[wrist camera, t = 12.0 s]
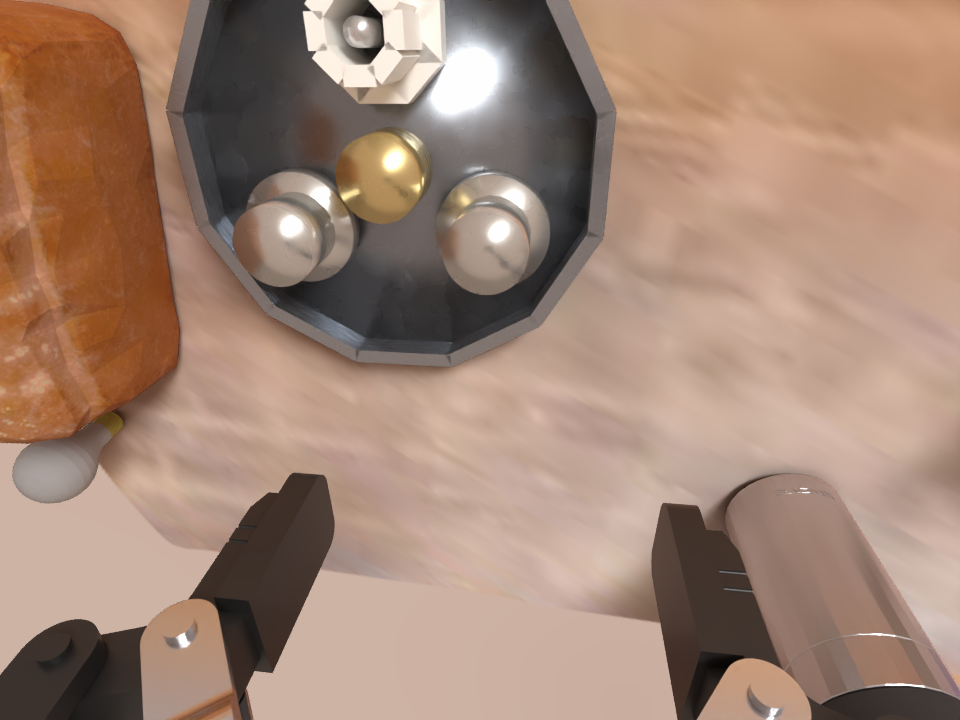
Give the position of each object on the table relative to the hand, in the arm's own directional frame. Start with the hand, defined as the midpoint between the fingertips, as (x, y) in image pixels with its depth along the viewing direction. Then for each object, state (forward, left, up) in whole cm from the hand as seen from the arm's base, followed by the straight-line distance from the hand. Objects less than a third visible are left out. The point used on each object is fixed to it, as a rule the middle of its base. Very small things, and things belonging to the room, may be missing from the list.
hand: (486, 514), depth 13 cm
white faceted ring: (+10, +9, -27) cm, 30 cm away
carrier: (+3, +9, -28) cm, 30 cm away
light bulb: (-20, +38, -28) cm, 51 cm away
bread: (0, +34, -28) cm, 44 cm away
